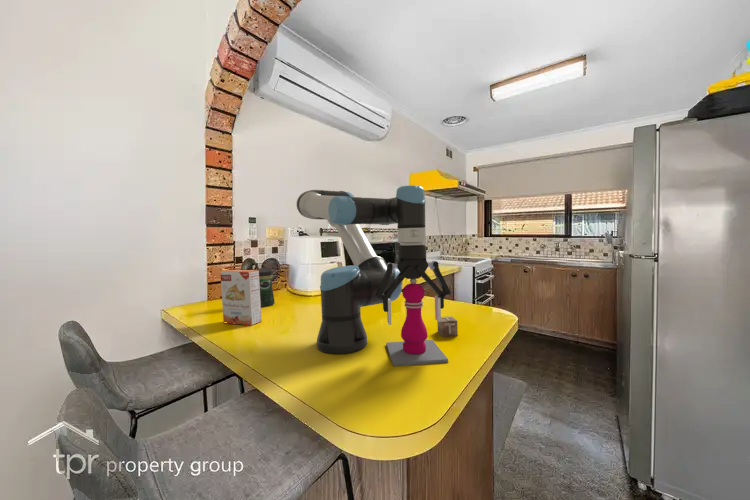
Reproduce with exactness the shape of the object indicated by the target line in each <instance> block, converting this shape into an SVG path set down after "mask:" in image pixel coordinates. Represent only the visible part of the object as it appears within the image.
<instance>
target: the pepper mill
mask: <svg viewBox="0 0 750 500" xmlns="http://www.w3.org/2000/svg"><path fill="white" fill-rule="evenodd" d="M417 280H418V279H416V278H412V279H409V282H410V283H407V284H406V285H404V287H402V297H403V298H404V300H405V301H404V307H405V308H406V316H405V317H406V318H405V320H404V322H403V325H402V327H401V330H400V336H401V339H402V340H403V341H405V342H404V343H403V350H404V351H405V352H406V353H409V354H422V353H424V352H425V351H426V344H425V342H424V341H425V340H428V330H427V326H426V325H425V323H424V322H425V321H424V320H423V317H422V308H423V307H424V304H423V303H424V301H423V299H424V298H425V295H426V294H425V288H424V287H423V286H422V285H421V284H419V283H417V282H418V281H417Z"/></svg>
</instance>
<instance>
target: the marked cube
mask: <svg viewBox="0 0 750 500" xmlns="http://www.w3.org/2000/svg"><path fill="white" fill-rule="evenodd" d="M436 321H437V320H436ZM437 333H438V334H439V336H441V337H447V338H448V337H458V335H459V333H458V320H457V319H456V318H454V317H453V316H441V322H438V321H437Z"/></svg>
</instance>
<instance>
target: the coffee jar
mask: <svg viewBox="0 0 750 500" xmlns="http://www.w3.org/2000/svg"><path fill="white" fill-rule="evenodd" d="M254 270H259V282H260V301H261V308H264V306H266V307H270V305H271V306H273V305H275V295H274V289H273V278H274V275H273V270H272V268H269V267H268V268H267V267H266V268H265V267H263V268H256V269H254Z"/></svg>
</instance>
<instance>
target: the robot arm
mask: <svg viewBox="0 0 750 500" xmlns="http://www.w3.org/2000/svg"><path fill="white" fill-rule="evenodd" d="M425 196H426V194H425V189H424V187H422V186H420V185H413V184H412V185H404V186H399V187H398V188H397V189H396V194H395V197H390V198H383V197H381V198H380V197H379V198H378V197H361V196H354V195H353V194H352V193H351V192H350V191H349V192H348V191H344V190H339V191H337V190H326V189H325V190H324V189H323V190H322V189H310V190H307V191H304V192H303V193H301V194H300V195H299V196H298V198H297V200H296V203H295V205H296V209H297V211H298V212H299V214H300V215H301V216H303V217H304V218H306V219H310V220H327V221H328V224H329V225H330V226H331V227H333V228H334V229H336V232H337V233H338V235H339V237H340V240H341V241H342V243H343V245H344V247H345V249H346V251H347V253H348V255H349V257H350V259H351V261H352V264H353V265H350V264H349V265H345V266H343V265H342V266H337V267H332V268H330V269H327V270H325V271H323V272H322V273H321V275H320V285H319V289H320V302H321V303H320V304H321V305H320V306H321V307H320V308H321V324H320V327H319V330H318V333H317V338H316V347H317V350H319V351H320V352H323V353H326V354H331V355H332V354H334V355H341V354H342V355H345V354H350V353H354V352H358V351H361V350H362V349H364V348H365V347H367V346H368V335H367V332H366V329H365V326H364V323H363V321H362V318H361V317H362V316H361V313H362V312H361V308H364V307H368V306H374V305H380V304H382V309H383V311H384V312H385V313H386V319H387V324H388V326H391V325H392V302H394V301H396V300H397V299H398V298H399V297H400V296H401V293H402V291H403V281H404V280H405V279H407V280H410V279H412V278H415V279H416V280H418V279H420V278H422V280H424V282H426V283H427V284H428V286H429V287H430V288H431V289H432V290H433V291H434V293H435V294H436V295H434V320H436V321H438V322H441V317H442V315H441V313H442V311H441V309H444V307H445V303H444V302H445V298H446V296H448V295H451V290H450V287H449V286H448V284H447V283H446V281H445V278H444V276H443V274H442V272H441V271H440V267H439V262H438V261H436V260H432V261H428V260H427V246H426V244H424V243H426V242H427V237H426V235H427V234H426V203H427V202H426V197H425ZM394 224H395V225H396V224H397V227H396V228H397V243H398V244H399V245H398V246H397V251H398V252H397V257H398V258H397V259H398V261H397V263H392V262H386V260H385V259H384V258H383V256H382V257H381V256H378V255H377V253H376V251H375V250H374V248H373V245H372V244H371V243H370V241H369V240H368V237H367V235H366V234H365V232H364V230H363V229H362V227H361V226H360V225H380V226H389V225H394ZM428 268H430V270H432V272H433V274H434V276H435V278H436V280H437V282H438V284H439V285H440V287H441V289H442V290H441V289H440V288H439V287H438V285H436V283H435V281H434V280H433V279H431V277H430V276H429V275H428V274H427V273H426V271H427V269H428Z"/></svg>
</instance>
